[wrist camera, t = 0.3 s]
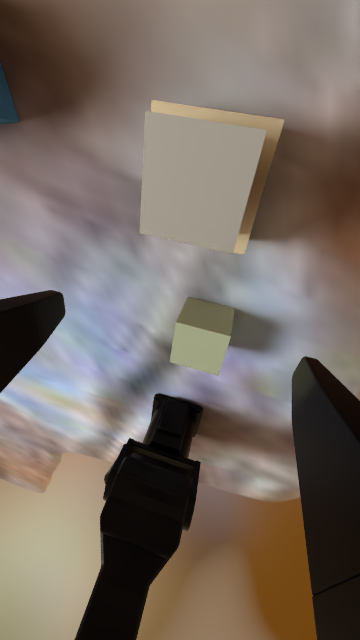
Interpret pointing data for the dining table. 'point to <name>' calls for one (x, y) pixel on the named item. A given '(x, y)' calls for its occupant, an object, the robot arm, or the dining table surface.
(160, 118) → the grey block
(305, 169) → the dining table surface
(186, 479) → the robot arm
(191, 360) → the sage cube
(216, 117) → the beech slab
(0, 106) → the perfume bottle
